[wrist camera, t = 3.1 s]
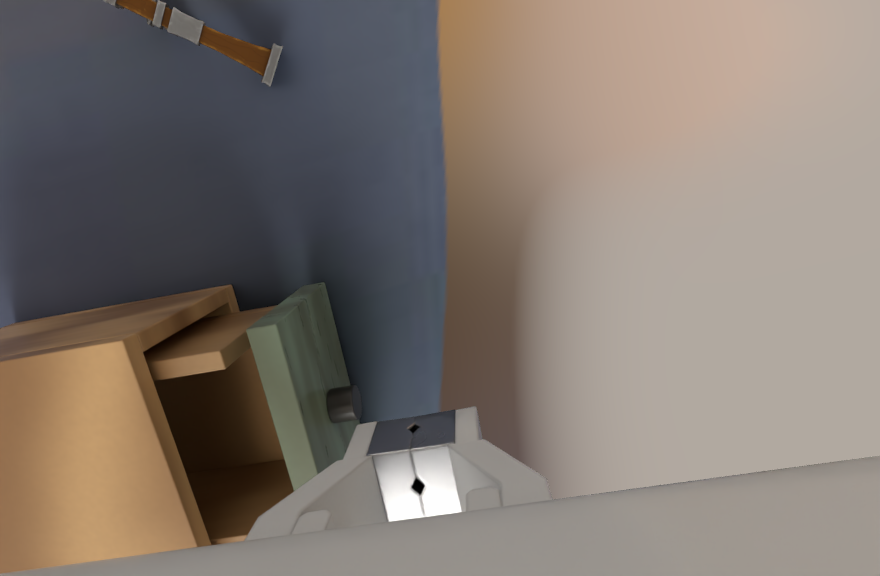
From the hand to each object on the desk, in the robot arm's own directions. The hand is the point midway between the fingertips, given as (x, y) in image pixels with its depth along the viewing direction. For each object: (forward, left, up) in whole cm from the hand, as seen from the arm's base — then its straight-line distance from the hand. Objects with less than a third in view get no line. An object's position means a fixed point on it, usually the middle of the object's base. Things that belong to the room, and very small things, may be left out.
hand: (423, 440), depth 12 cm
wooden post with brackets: (-14, -9, -14) cm, 22 cm away
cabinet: (+3, -17, -14) cm, 22 cm away
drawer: (+3, -11, -13) cm, 17 cm away
